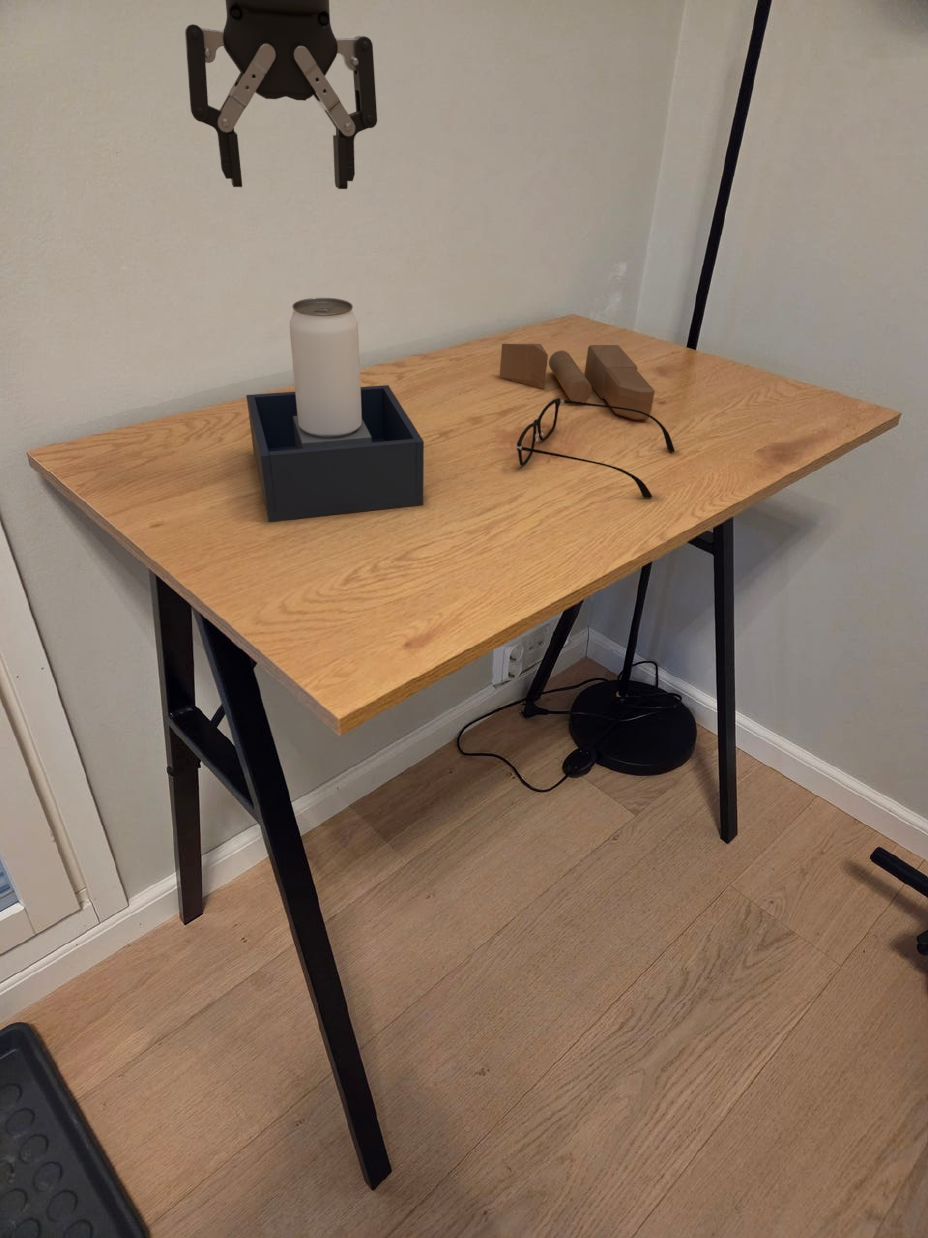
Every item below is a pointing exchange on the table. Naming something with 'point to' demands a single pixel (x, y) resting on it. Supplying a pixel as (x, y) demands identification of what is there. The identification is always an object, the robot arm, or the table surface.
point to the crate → (336, 460)
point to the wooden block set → (582, 375)
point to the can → (326, 367)
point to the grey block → (310, 441)
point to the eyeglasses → (537, 424)
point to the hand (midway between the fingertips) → (290, 186)
